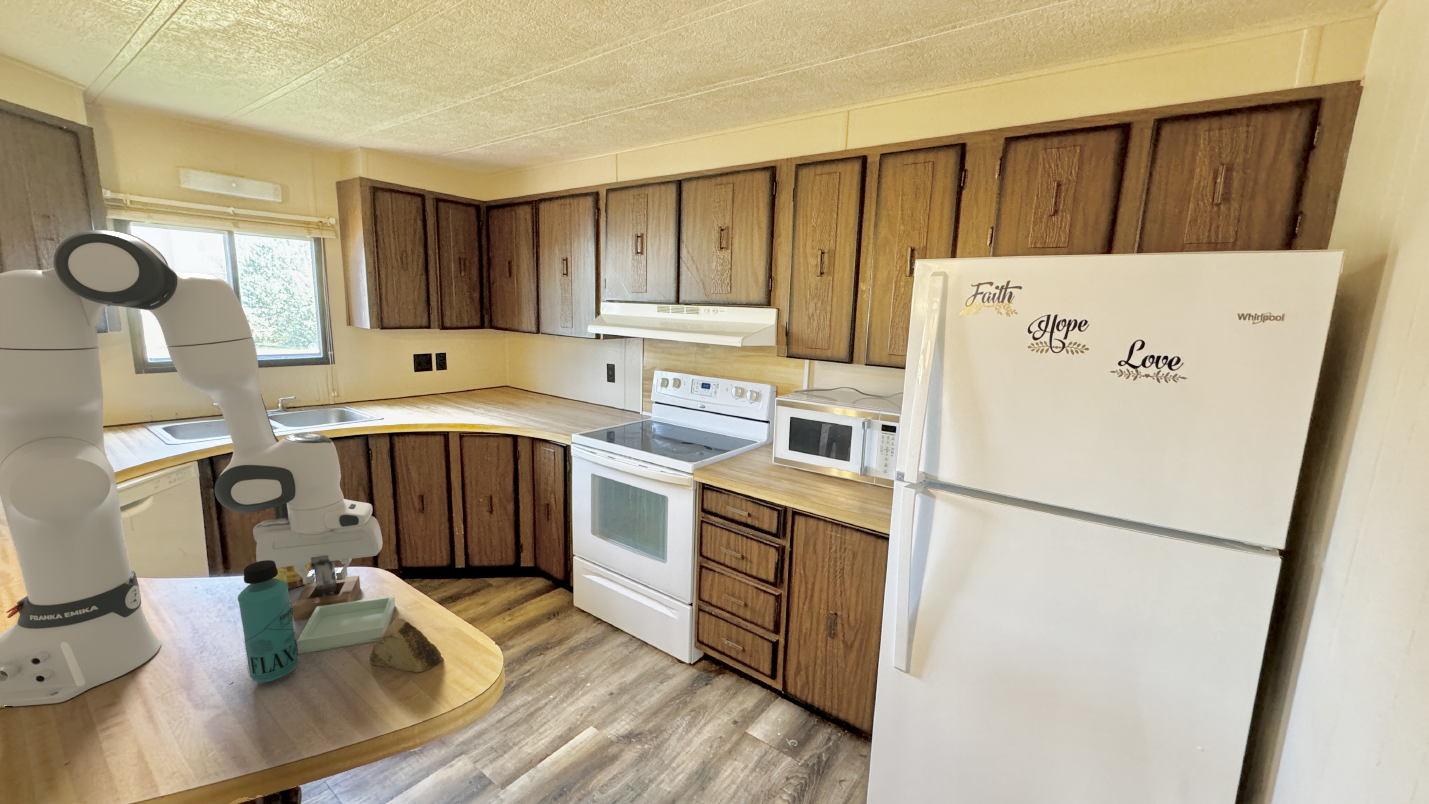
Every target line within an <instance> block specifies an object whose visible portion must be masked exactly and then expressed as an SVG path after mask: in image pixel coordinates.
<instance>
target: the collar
mask: <svg viewBox="0 0 1429 804" xmlns="http://www.w3.org/2000/svg"><path fill="white" fill-rule="evenodd" d="M360 580H361V579H360V575H353V576H347V578H346V579H342V580H337V579H336V584H337V591H338V595H332V596H325V597H318V593H317V585H316V580H315V581H314V582H313V583H312V584H305V585H304V586H303V587H304V588H303V589H302V590H301V591H300V594H299V595H298V597H297V598H296V600H295V601H294V603H293V604H292V605H291V607H292V608H291V610H292V611H293V612H292V613H293V615H292V617H293V621H299V620H306V619H308V620H309V619H310V617H311V616H312V614H313V612H314V610H315V609H316V607H317V606H324V605H331V604H337V603H344V602H351V601H356V599H357V596H358V595H359V593H360V591H361V581H360Z"/></svg>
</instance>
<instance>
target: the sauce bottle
mask: <svg viewBox="0 0 1429 804" xmlns="http://www.w3.org/2000/svg"><path fill="white" fill-rule="evenodd" d="M273 510H274V514H273V515H274V518H273V520H277V519H283V518H289V516H288V509H287V504H286V503H285V504H283V505H280V506H277V507H273ZM304 567H305V568H306V569H307V570H308V571H311V564H306V565H305V566H304ZM277 570H278V575H277V576H276V577H274V578H276V579H279V580H282V581H284V582H286V583H287V584H288V590H291V589H296V588H299V587H301V586H305V585H304V584H303V578H302V577H301V576H300V575H299V574H298V573H297V572H295V571H294V566H287V567H279V568H277ZM311 572H312V571H311Z"/></svg>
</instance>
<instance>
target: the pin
mask: <svg viewBox="0 0 1429 804" xmlns="http://www.w3.org/2000/svg"><path fill="white" fill-rule="evenodd" d="M311 563H312V564H311V565H313V569H314V574H315V575H314V577H315V581H316V585H317V593H318V597H325V596H332V595H338V591H337V584H336V578H337V576H336V569H335V562H334V561H330V560H329V559H328V556H320V557H312V558H311Z"/></svg>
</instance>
